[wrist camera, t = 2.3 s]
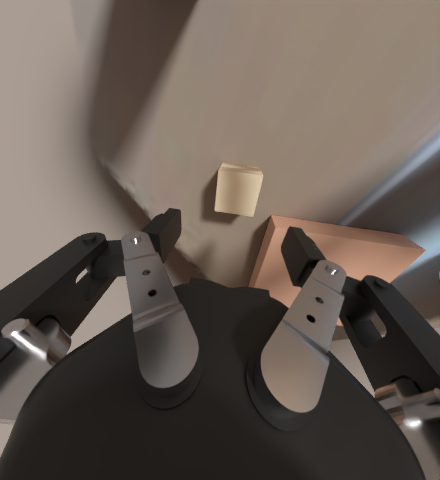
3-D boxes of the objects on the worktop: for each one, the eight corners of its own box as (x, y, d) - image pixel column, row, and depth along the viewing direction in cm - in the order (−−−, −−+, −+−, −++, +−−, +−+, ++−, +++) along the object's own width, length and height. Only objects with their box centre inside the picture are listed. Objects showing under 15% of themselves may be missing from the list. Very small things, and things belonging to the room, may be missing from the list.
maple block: (259, 167, 21) (263, 175, 17) (251, 202, 24) (253, 216, 20) (222, 162, 22) (218, 169, 17) (219, 197, 24) (214, 210, 20)
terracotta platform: (400, 234, 24) (425, 250, 21) (333, 308, 36) (343, 326, 32) (271, 215, 25) (275, 227, 22) (245, 293, 36) (246, 309, 33)
